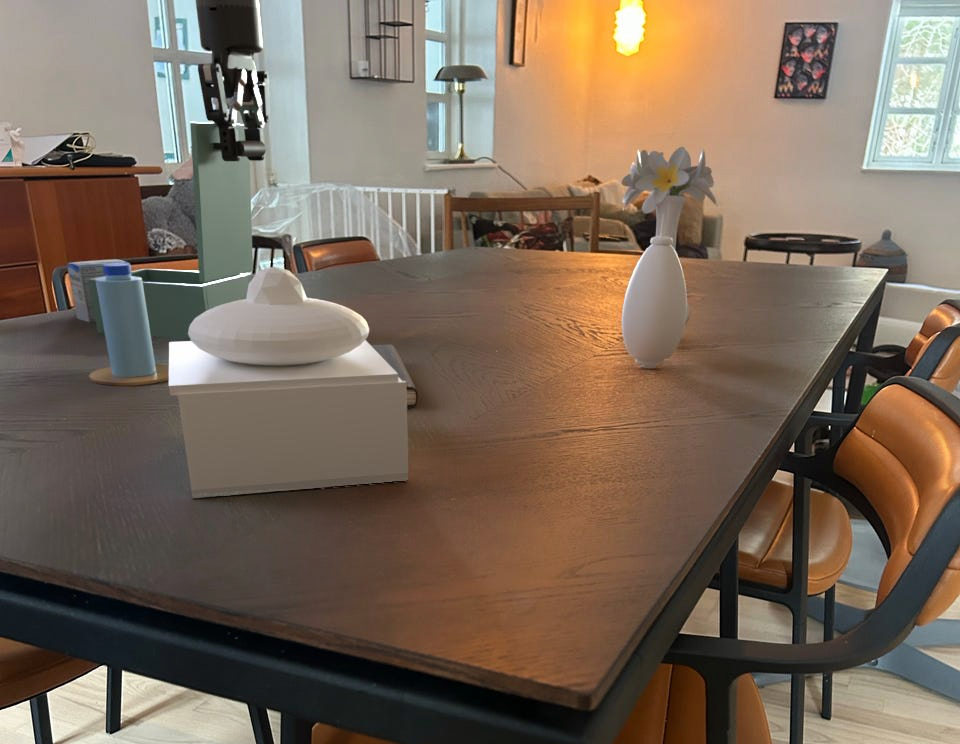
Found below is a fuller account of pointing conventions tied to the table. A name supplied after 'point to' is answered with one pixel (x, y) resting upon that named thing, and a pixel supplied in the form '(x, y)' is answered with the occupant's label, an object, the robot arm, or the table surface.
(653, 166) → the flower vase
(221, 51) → the robot arm
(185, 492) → the table surface
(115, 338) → the water bottle
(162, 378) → the coaster
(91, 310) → the medicine box
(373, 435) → the white knob-topped box
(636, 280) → the white teardrop bottle
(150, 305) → the cool box
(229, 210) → the lid
